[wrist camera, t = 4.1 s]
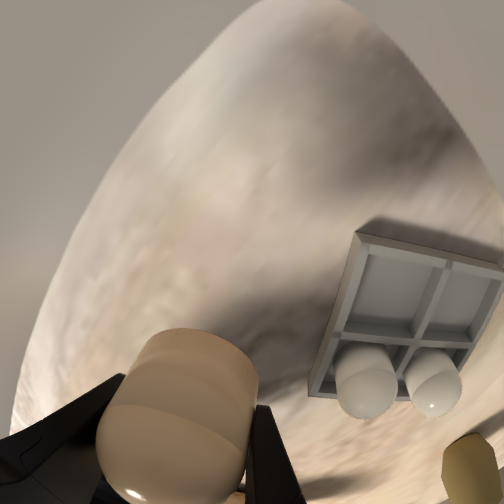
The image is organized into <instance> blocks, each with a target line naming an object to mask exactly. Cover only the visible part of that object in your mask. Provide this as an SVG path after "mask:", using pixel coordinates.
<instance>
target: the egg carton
mask: <svg viewBox="0 0 504 504" xmlns="http://www.w3.org/2000/svg"><path fill="white" fill-rule="evenodd" d="M503 291H504V269H503V268H502V267H501V266H499V265H498V264H495V263H491V262H487V261H483V260H479V259H475V258H471V257H467V256H463V255H459V254H455V253H451V252H447V251H442V250H438V249H434V248H429V247H425V246H420V245H416V244H411V243H407V242H402V241H398V240H393V239H388V238H383V237H379V236H374V235H369V234H364V233H359V232H354V236H353V240H352V244H351V248H350V252H349V255H348V259H347V263H346V266H345V270H344V273H343V277H342V280H341V283H340V287H339V290H338V293H337V297H336V300H335V303H334V306H333V309H332V313H331V316H330V319H329V322H328V325H327V328H326V331H325V334H324V337H323V339H322V342H321V345H320V348H319V351H318V354H317V356H316V359H315V362H314V365H313V367H312V370H311V372H310V375H309V378H308V397H318V398H329V399H338V397H337V389H336V381H335V374H334V366H333V361H334V357H335V355H336V353H337V352H338V351H339V349H340V348H342V347H343V346H344V345H345V344H347V343H349V342H351V341H353V340H354V341H363V342H372V343H383V344H384V346H385V347H386V350H387V352H388V355H389V358H390V361H391V364H392V367H393V369H394V372H395V375H396V378H397V383H398V392H397V396H396V399H395V401H411V399H410V396H409V393H408V390H407V387H406V384H405V381H404V378H403V376H402V372H403V371H404V369H405V367H406V366H407V364H408V362H409V360H410V358H411V357H412V355H413V353H414V351H415V350H417V349H419V348H420V347H437V348H445V349H446V351H447V353H448V354H449V356H450V358H451V360H452V362H453V363H454V365H455V367H456V369H457V371H458V373H459V372H460V371H461V369H462V368H463V366H464V364H465V363H466V361H467V360H468V358H469V356H470V355H471V353H472V351H473V350H474V348H475V346H476V344H477V343H478V341H479V339H480V337H481V336H482V334H483V332H484V330H485V328H486V326H487V324H488V322H489V320H490V318H491V316H492V314H493V312H494V310H495V308H496V306H497V304H498V302H499V300H500V297H501V295H502V293H503Z"/></svg>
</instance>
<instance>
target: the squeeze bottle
mask: <svg viewBox="0 0 504 504" xmlns="http://www.w3.org/2000/svg"><path fill="white" fill-rule="evenodd" d="M441 478H442V481H443V484H444V486H445V489H446V491H447V494H448V497H449V500H450V502H451V504H498V503H499V502H500V501H501V499H502V498H503V492H502V487H501V480H500V475H499V470H498V466H497V461H496V457H495V453H494V449H493V447H492V446H491V445H490V444H489V443H488V442H487V441H486V440H485V439H484V438H483V437H482V436H481V435H480V434H478V433H473V434H470V435H467V436H465V437H463V438H461V439H459V440H458V441H456V442H455V443H453V444H452V445H451V446H449V447H448V448H447V449H446V450H445V451H444V454H443V464H442V474H441Z"/></svg>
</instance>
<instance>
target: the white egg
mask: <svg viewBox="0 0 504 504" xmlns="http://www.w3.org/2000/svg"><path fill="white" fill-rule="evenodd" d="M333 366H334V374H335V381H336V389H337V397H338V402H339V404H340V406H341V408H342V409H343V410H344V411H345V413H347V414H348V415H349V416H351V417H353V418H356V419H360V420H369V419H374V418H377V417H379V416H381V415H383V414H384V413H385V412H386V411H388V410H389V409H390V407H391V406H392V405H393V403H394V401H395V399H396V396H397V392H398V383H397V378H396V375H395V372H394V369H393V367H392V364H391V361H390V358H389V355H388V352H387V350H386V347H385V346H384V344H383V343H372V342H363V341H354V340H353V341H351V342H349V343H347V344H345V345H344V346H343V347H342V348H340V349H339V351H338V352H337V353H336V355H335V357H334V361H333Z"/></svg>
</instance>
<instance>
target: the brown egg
mask: <svg viewBox="0 0 504 504" xmlns="http://www.w3.org/2000/svg"><path fill="white" fill-rule="evenodd" d="M258 387H259V378H258V374H257V371H256V369H255V367H254V365H253V363H252V362H251V360H250V359H249V358H248V357H247V356H246V355H245V354H244V353H243V352H242V351H241V350H240V349H239V348H237V347H236V346H234V345H233V344H232V343H230V342H228V341H226V340H225V339H223V338H221V337H218V336H216V335H214V334H211V333H208V332H204V331H200V330H195V329H186V328H177V329H169V330H165V331H162V332H159V333H157V334H156V335H154V336H153V337H151V338H150V339H149V340H148V341H147V343H146V344H145V346H144V347H143V349H142V350H141V352H140V354H139V355H138V357H137V358H136V360H135V362H134V363H133V365H132V366H131V368H130V370H129V371H128V373H127V375H126V376H125V378H124V380H123V381H122V383H121V384H120V386H119V388H118V389H117V391H116V393H115V394H114V396H113V398H112V399H111V401H110V403H109V404H108V406H107V408H106V410H105V411H104V413H103V415H102V417H101V419H100V422H99V424H98V428H97V432H96V454H97V459H98V462H99V465H100V467H101V470H102V472H103V474H104V476H105V478H106V479H107V481H108V482H109V484H110V485H111V486H112V488H113V489H114V490H115V491H116V492H117V493H118V494H119V495H120V496H121V497H122V498H123V499H125V500H126V501H127V502H129V503H130V504H223V503H225V502H226V501H227V500H228V499H229V498H230V497H231V496H232V495H233V494H234V493H235V491H236V490H237V488H238V487H239V485H240V483H241V480H242V478H243V476H244V473H245V469H246V464H247V458H248V452H249V446H250V439H251V433H252V427H253V420H254V414H255V407H256V400H257V394H258Z"/></svg>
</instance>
